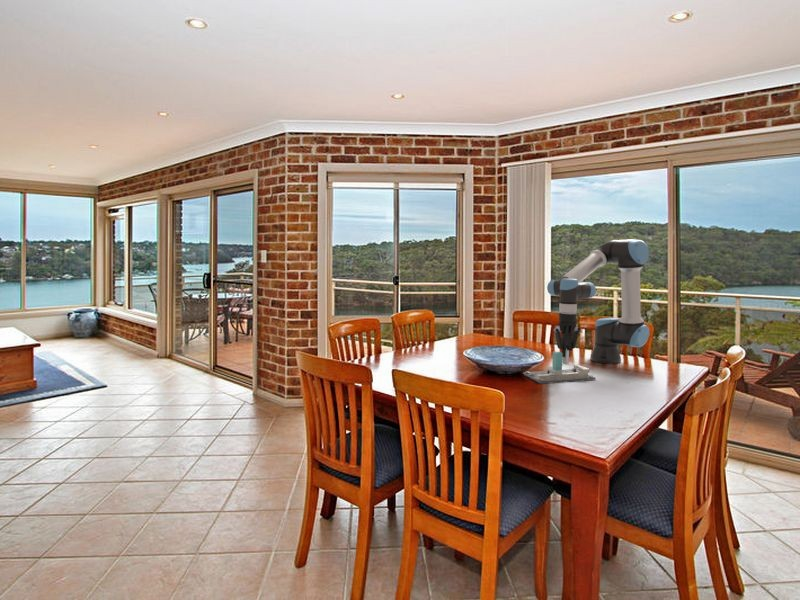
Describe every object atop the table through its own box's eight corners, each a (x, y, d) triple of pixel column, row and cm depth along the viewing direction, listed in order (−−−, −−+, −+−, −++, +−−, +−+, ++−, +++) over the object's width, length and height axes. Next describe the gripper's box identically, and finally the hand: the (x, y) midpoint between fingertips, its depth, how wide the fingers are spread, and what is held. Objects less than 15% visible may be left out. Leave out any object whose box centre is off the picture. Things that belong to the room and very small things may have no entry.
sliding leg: (550, 373, 223) (551, 348, 221) (562, 378, 214) (563, 353, 212) (545, 373, 222) (546, 349, 221) (556, 378, 213) (557, 353, 212)
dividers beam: (577, 372, 226) (577, 364, 226) (589, 377, 217) (589, 369, 216) (529, 375, 220) (530, 366, 220) (540, 380, 211) (540, 372, 211)
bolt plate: (575, 371, 232) (575, 367, 232) (595, 379, 217) (595, 376, 216) (523, 374, 226) (523, 371, 225) (540, 383, 210) (540, 380, 210)
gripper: (575, 311, 218) (573, 361, 220) (550, 312, 215) (548, 362, 218) (585, 313, 211) (583, 365, 213) (559, 314, 208) (557, 366, 210)
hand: (565, 363), depth 215 cm, fingers closed
